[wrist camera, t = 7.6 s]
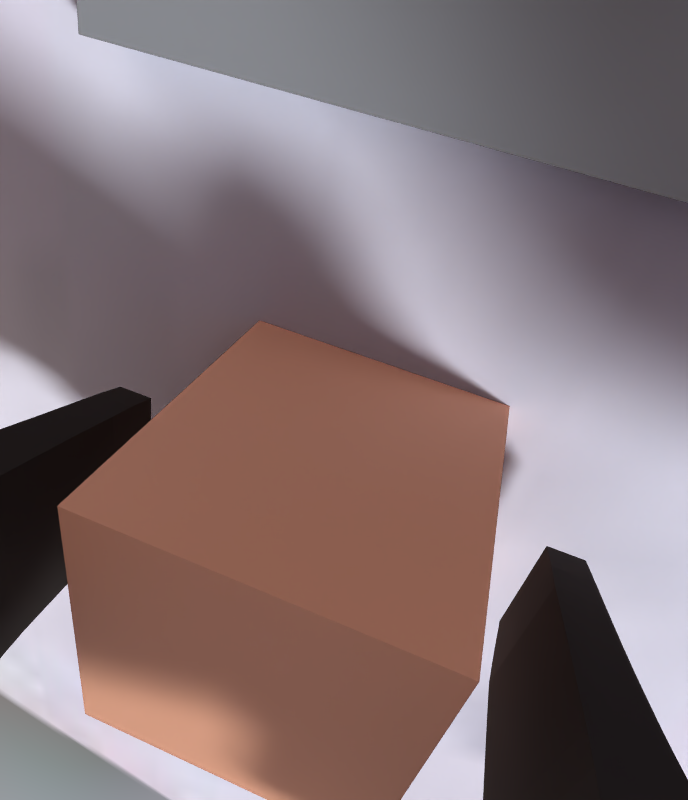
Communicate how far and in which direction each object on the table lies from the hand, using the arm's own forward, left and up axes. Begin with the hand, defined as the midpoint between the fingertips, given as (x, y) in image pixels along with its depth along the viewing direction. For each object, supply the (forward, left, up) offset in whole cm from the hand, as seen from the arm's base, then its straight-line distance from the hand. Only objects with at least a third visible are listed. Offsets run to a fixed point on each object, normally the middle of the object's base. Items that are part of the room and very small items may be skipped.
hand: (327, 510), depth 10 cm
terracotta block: (0, 0, -2) cm, 2 cm away
